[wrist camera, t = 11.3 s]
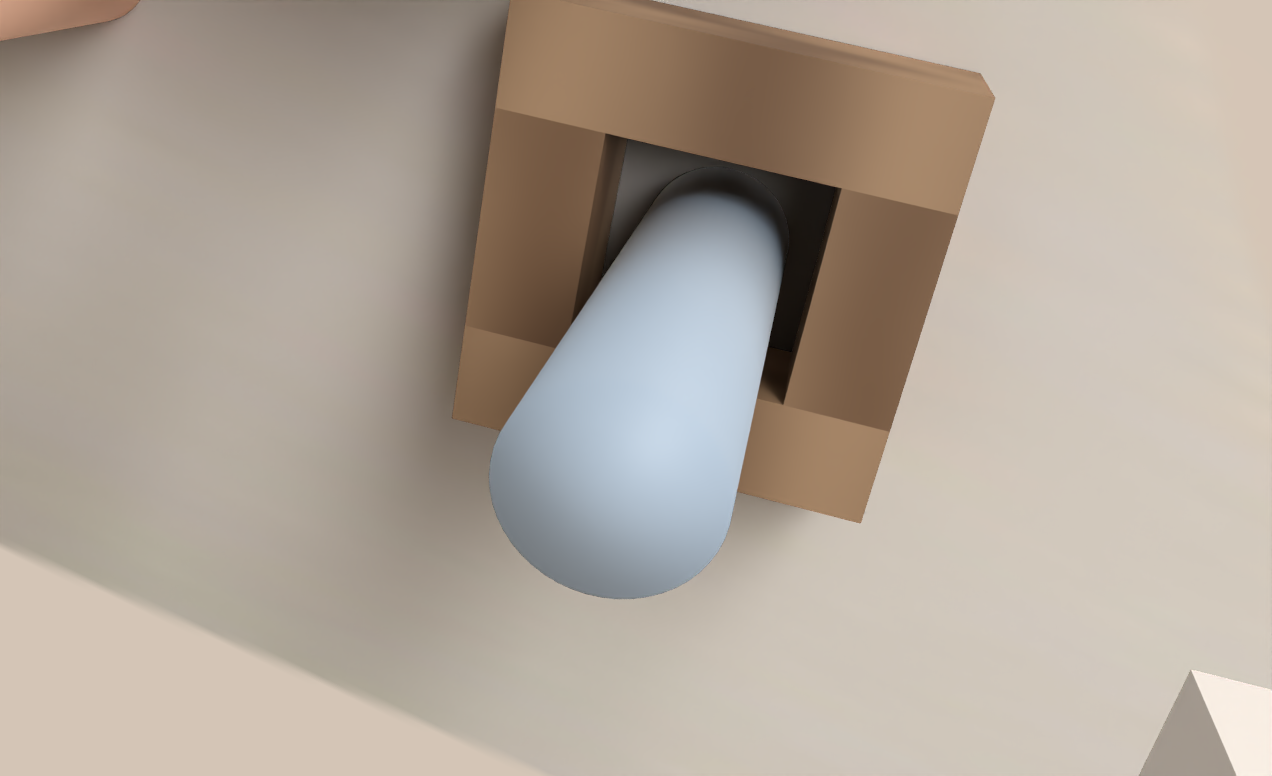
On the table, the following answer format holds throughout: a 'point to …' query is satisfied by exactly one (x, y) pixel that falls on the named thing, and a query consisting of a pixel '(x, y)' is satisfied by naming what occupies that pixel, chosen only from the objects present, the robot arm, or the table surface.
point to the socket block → (742, 134)
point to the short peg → (56, 15)
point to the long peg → (649, 397)
